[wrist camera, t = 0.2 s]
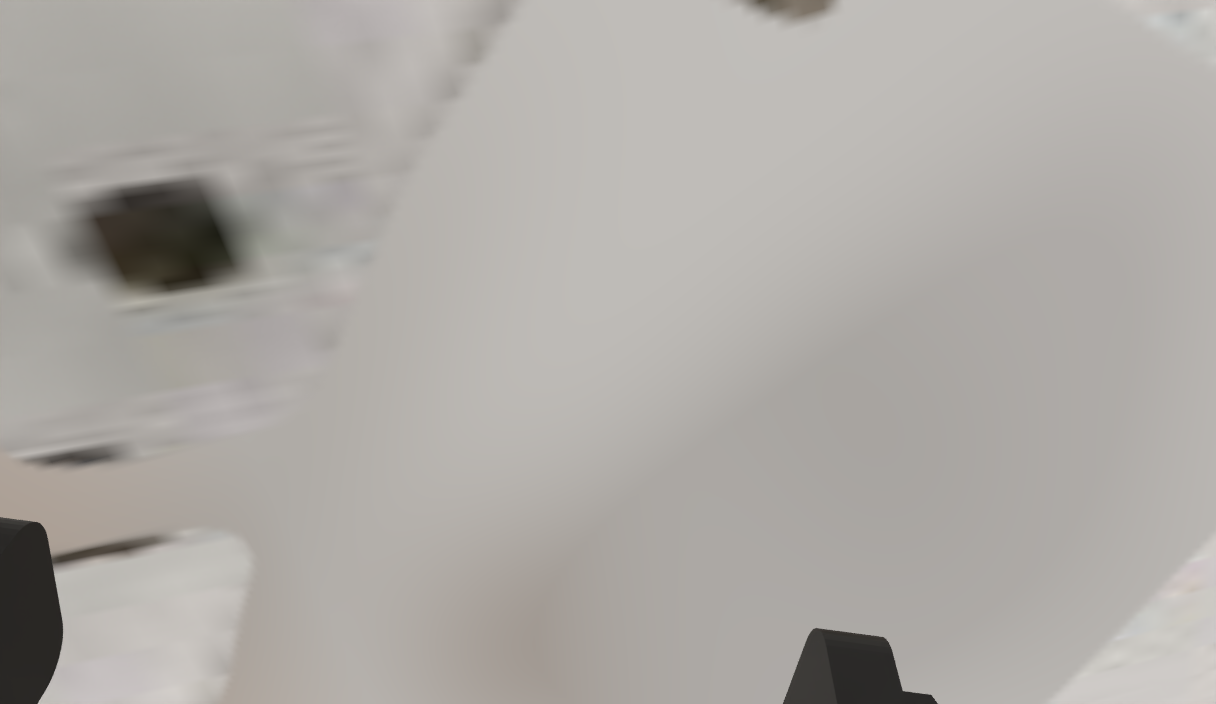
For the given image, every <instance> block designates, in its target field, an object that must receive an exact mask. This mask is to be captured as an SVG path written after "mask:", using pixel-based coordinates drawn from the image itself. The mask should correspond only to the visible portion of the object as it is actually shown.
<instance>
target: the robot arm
mask: <svg viewBox="0 0 1216 704" xmlns="http://www.w3.org/2000/svg"><path fill="white" fill-rule="evenodd" d="M62 639H63V623H62V616H61V611H60V605H59V599H58V594H57V588H56V582H55V577H54V571H53V565H52V560H51V554H50V548H49V543H48V538H47V534H46V531H45V529H44V527H43V526H42V525H41V524H40V523H38V522H31V521H23V520H16V519H9V518H1V517H0V704H38V702H39V700H40V699H41V697H42V695H43V694H44V692H45V690H46V688H47V687H48V685H49V683H50V681H51V679H52V676H53V674H54V671H55V669H56V666H57V663H58V659H59V656H60V651H61V646H62ZM783 704H937V702H936V701H935V699H934V698H933V697H932V695H928V694H920V693H912V692H905V691H902V687H901V683H900V679H899V676H898V672H897V668H896V664H895V660H894V656H893V652H892V649H891V647H890V645H889V643H888V641H887V640H886V639H885V638H884V637H879V636H871V635H863V634H855V633H848V632H840V631H833V630H825V629H818V628H815V629H813V630H812V631H811V633H810V634H809V636H808V638H807V641H806V643H805V646H804V649H803V651H802V654H801V657H800V659H799V662H798V665H797V667H796V670H795V673H794V675H793V678H792V681H791V684H790V687H789V689H788V692H787V694H786V697H785V700H784V702H783Z"/></svg>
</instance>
